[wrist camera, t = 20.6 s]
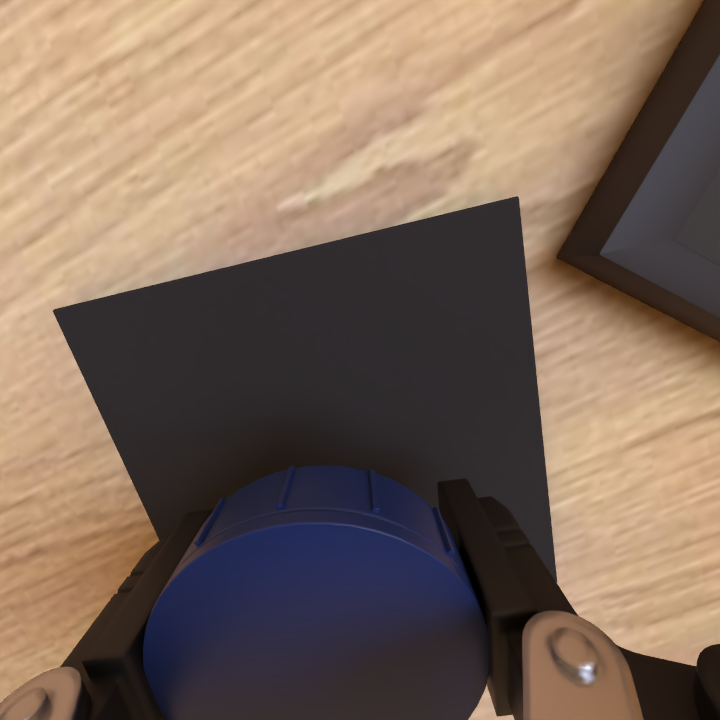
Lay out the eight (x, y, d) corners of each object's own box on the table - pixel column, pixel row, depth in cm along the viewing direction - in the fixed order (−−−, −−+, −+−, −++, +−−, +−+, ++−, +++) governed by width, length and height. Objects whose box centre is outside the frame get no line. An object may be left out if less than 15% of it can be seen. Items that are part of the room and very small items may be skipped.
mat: (217, 629, 14) (210, 650, 14) (72, 307, 11) (51, 309, 10) (546, 565, 14) (558, 583, 13) (506, 201, 10) (519, 195, 9)
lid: (481, 470, 7) (521, 530, 5) (444, 689, 8) (465, 788, 6) (179, 456, 6) (124, 514, 5) (195, 683, 8) (156, 784, 6)
